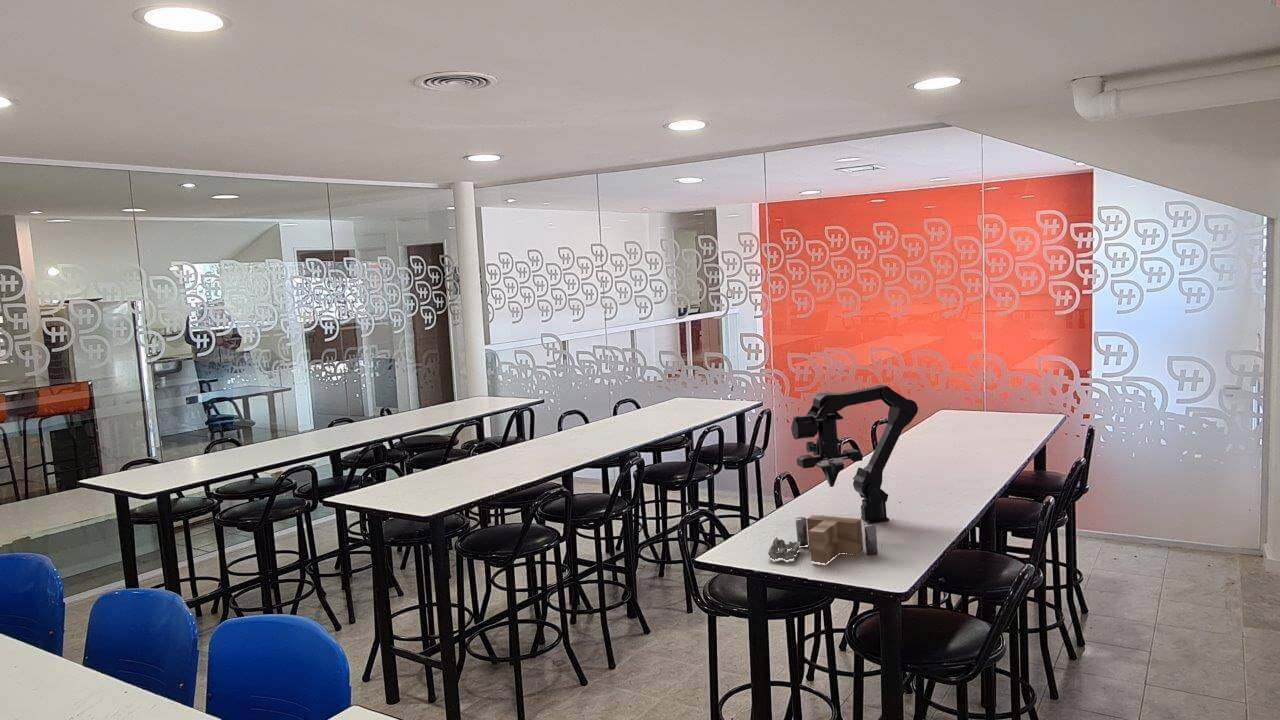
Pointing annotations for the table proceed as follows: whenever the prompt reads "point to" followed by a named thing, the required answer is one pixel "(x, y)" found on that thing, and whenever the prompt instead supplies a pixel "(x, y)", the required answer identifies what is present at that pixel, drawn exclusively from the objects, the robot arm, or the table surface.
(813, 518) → the walnut T block
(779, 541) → the grey jagged rock
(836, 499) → the table surface
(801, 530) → the goal posts
